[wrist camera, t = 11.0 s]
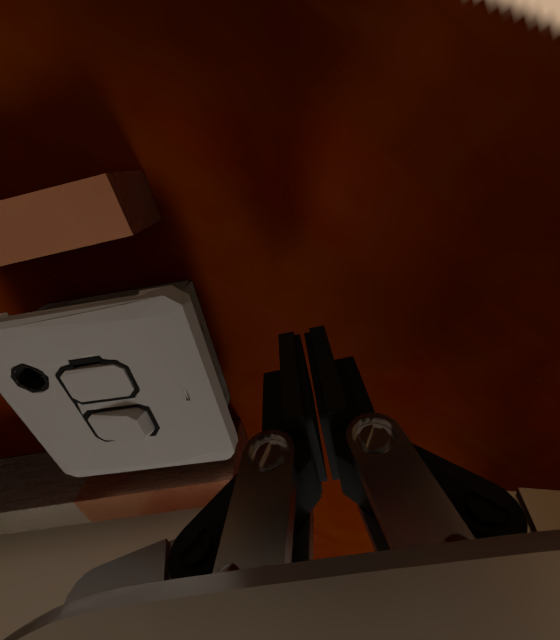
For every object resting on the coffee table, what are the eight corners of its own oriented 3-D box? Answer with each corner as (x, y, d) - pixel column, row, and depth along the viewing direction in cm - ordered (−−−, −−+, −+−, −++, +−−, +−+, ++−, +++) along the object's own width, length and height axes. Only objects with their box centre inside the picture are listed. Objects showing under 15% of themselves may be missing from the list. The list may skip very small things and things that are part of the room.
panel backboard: (257, 461, 21) (246, 615, 14) (260, 470, 21) (251, 623, 14) (-66, 510, 24) (-212, 661, 17) (-57, 516, 24) (-195, 666, 17)
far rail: (240, 419, 19) (232, 479, 16) (248, 440, 20) (242, 501, 16) (-110, 477, 22) (-186, 539, 18) (-88, 493, 23) (-156, 556, 19)
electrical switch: (-59, 328, 12) (150, 314, 9) (52, 277, 16) (212, 260, 14) (63, 479, 16) (225, 494, 14) (124, 407, 20) (254, 409, 18)
